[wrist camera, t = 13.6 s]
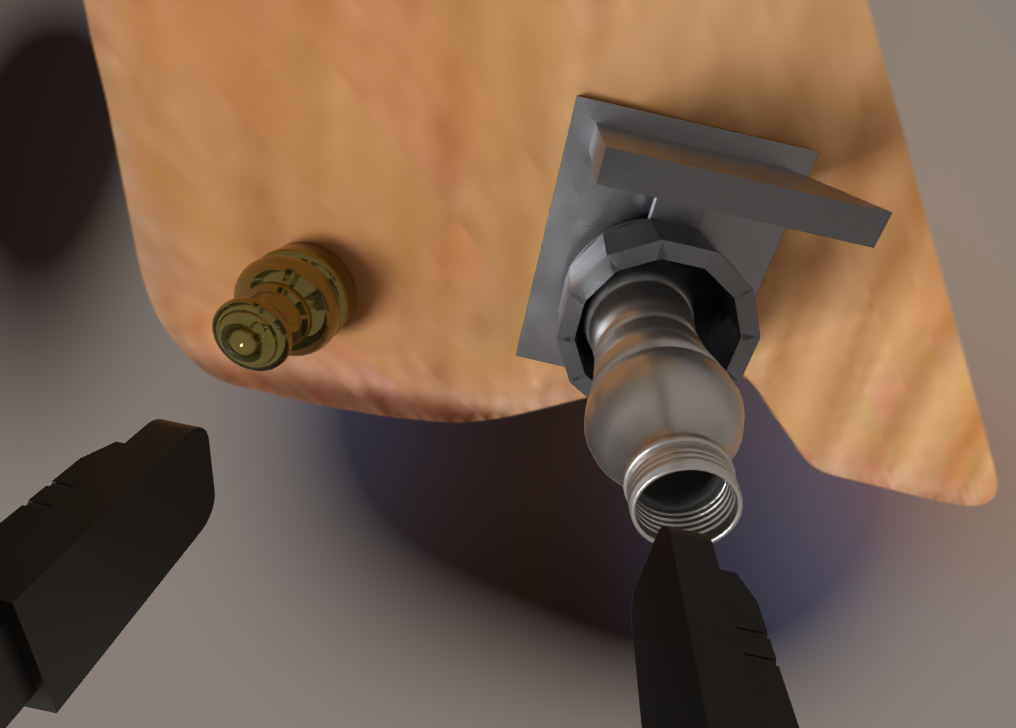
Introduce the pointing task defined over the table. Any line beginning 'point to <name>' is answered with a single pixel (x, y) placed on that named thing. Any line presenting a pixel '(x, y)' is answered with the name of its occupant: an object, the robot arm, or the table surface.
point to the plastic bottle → (661, 405)
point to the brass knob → (284, 307)
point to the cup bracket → (675, 226)
